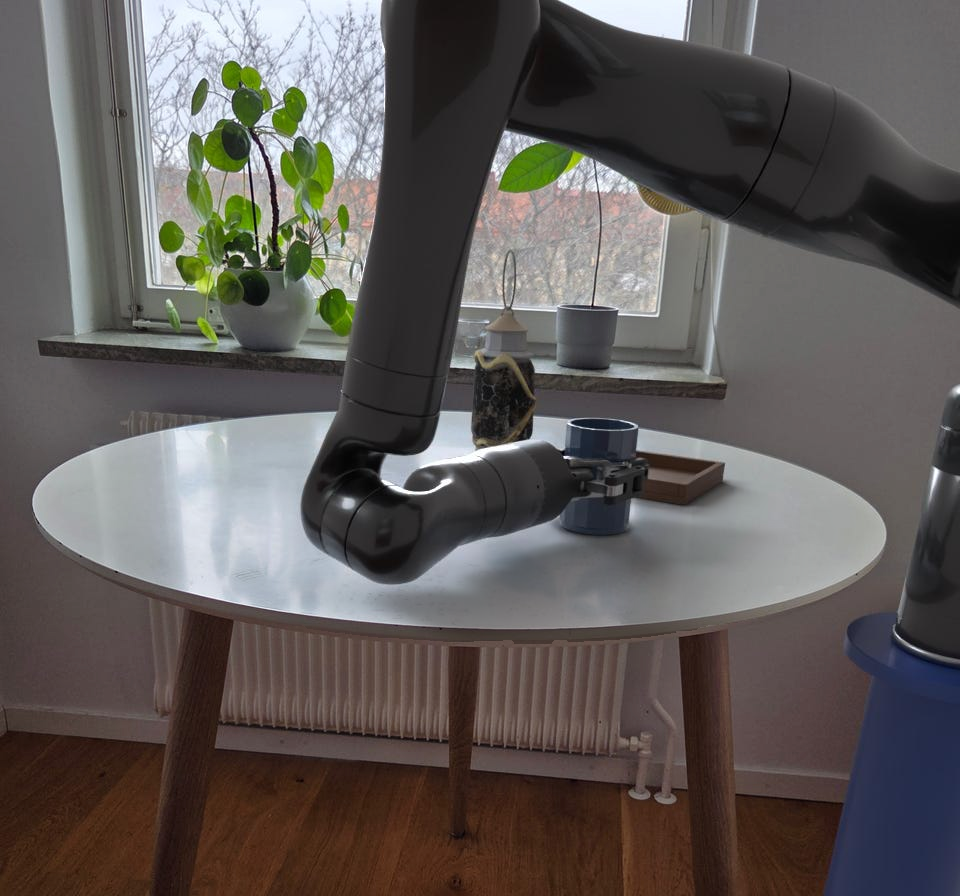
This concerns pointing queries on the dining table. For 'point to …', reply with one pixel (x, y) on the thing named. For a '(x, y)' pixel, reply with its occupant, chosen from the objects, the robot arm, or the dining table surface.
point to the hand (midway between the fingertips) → (610, 462)
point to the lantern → (503, 382)
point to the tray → (678, 477)
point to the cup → (596, 442)
